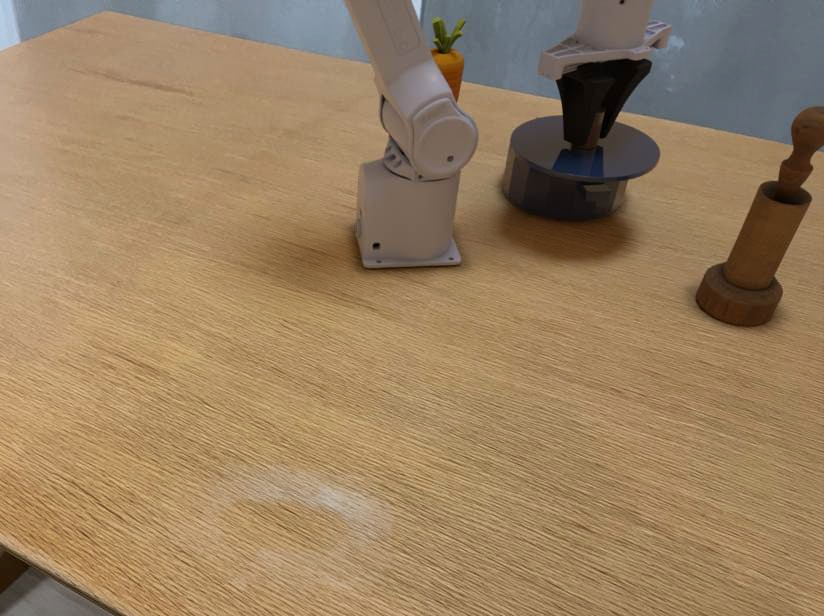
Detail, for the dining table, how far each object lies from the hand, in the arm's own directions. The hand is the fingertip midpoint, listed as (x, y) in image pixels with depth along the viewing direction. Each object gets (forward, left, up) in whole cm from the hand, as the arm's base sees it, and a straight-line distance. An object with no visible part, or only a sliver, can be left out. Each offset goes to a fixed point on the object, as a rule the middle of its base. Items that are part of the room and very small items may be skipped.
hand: (584, 138), depth 78 cm
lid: (0, 0, -1) cm, 1 cm away
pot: (+2, +7, -9) cm, 12 cm away
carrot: (-10, +19, -10) cm, 24 cm away
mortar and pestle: (+11, -15, -10) cm, 21 cm away
